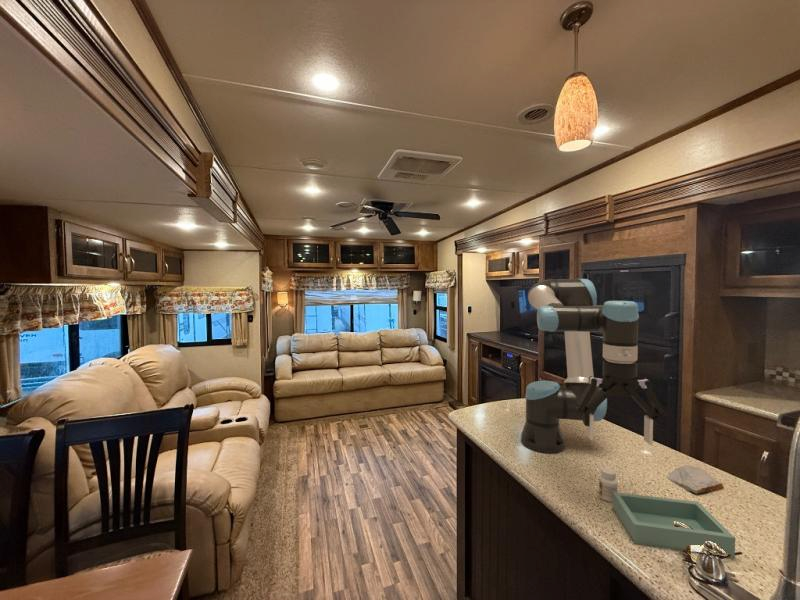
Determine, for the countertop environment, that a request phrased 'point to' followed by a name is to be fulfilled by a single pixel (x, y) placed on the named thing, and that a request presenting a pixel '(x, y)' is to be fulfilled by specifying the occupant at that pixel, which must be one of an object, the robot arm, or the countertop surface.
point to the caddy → (669, 523)
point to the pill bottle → (607, 484)
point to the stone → (694, 479)
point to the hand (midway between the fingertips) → (618, 440)
